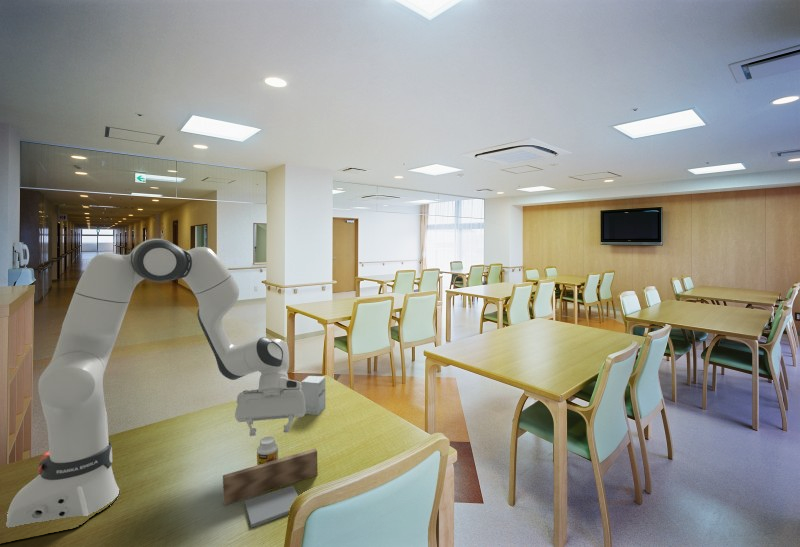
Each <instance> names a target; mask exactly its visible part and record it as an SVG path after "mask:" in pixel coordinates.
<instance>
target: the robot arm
mask: <svg viewBox="0 0 800 547" xmlns="http://www.w3.org/2000/svg"><path fill="white" fill-rule="evenodd" d="M179 279H182V280H183V281H184V282H185V283H186V284H187V286H188V287H189V288H190V290H191V291H192V293H193V294H194V296H195V298H196V300H197V302H198V310H197V314H196V315H197V320H198V322H199V325H200V327H201V330H202V332H203V334H204V336H205V338H206V340H207V342H208V344H209V347H210V349H211V350H212V353H213V355H214V356H215V362H216V364H217V368H218V370H219V373H220V374H221V375H222V376H223V377H224V378H227V379H229V380H231V381H234V380H238V379H240V378H243V377H245V376H247V375H250V374H253V373H256V372H259V373H260V376H259V379H258V389H251V390H247V389H245V390H243V391H242V392H239V393H238V395H237V397H236V409H235V412H234V418H235V419H236V421H237V422H238V423H246V424H247V426H248V428H249V436H250V437H255V436H256V435H257V429H256V428H255V427H253V425H254V422H259V421H267V420H269V421H271V420H279V419H287V420H288V422H287V424H284V425H283V433H284V434H286V433H287V434H288V433H290V427H291V426H292V424H293V423H294V418H302V417H304V416H305V415H306V414H305V413H306V409H305V400H304V395H303V392H302V386H301V381H297V380H293V379H290V378H289V374H288V373H289V372H288V371H289V368H290V351H289V350H290V349H289V345H288V343H287V342H286V341H285V340H284V339H280V338H269V337H266V336H262V337H258V338H255V339H252V340H249V341H247V342H244V343H241V344H237V345H236V344H233V343H232V342H231V340H230V338H229V336H228V334H227V331H226V330H225V327H224V324H223V319H224V316H225V315H227V313H228V312H229V311H230V310H231V309H232V308H233V307H234V306H235V305H236V303H237V302H238V300H239V295H240V289H239V286H238V284H237V281H236V280H235V278H234V276H233V274H231V271H229V268H228V267H227V266H226V264H225V263H224V262H223V261H222V259H221V258H220V257H219V256H218V255H217V253H216V252H214V251H213V249H212V248H210V247H206V246H197V247H193V248H191V249H188V250H185V249H184V248H181V247H179V246H178V245H176V244H174V243H173V242H171V241H169V240H167V239H164V238H159V237H158V238H154V237H153V238H149V239H146V240H144V241H142V242H140V243H139V244H138V245H136V246H135V247H134V248H132V249H131V250H130V251H128V252H127V253H125V254H120V253H119V254H118V253H113V252H110V253H109V252H107V253H100V254H97V255H95V256H94V257H93V258H92V259H91V260H90V261H89V263H88V264H87V266H86V267H85V269H84V271H83V273H82V275H81V276H80V278H79V280H78V283H77V285H76V287H75V290H74V292H73V295H72V298H71V301H70V304H69V306H68V309H67V312H66V314H65V317H64V320H63V322H62V325H61V326H62V327H61V330H60V334H59V336H58V341H57V343H56V347H55V349H54V354H53V356H52V358H51V360H50V362H49V364H48V365H47V367H46V368H45V369H44V370H43V372H42V373H41V375H40V377H39V379H38V385H37V387H38V388H37V390H38V395H39V398H40V403H41V409H42V413H43V416H44V420H45V423H46V429H47V437H48V438H47V439H48V448H49V449H48V451H46V452H44V453H43V454H42V457H41V458H40V461H39V463H38V468H37V474H38V475H37V476H36V477H35V478H33V479H32V480H31V481H29V482H28V483H27V484H25V486H23V487H22V488H20V490H19V491H18V492H17V493H16V494H15V496H14V497H13V499H12V500H11V503H10V504H9V506H8V511H7V513H8V514H7V522H6V526H7V527H8V528H9V527H15V526H19V525H24V524H30V523H35V522H42V521H43V522H44V521H49V520H55V519H60V518H66V517H75V516H88V515H90V514H92V513H93V512H96V511H98V510H99V509H101V508H103V507H104V506H106V505H107V504H109V503H110V502H112V501H113V500H114V499H115V498H116V497H117V496H118V494H119V490H120V488H119V486H118V484H117V481H116V479H115V476H114V472H113V467H112V464H113V447H112V443H111V441H110V439H109V426H108V411H107V407H106V403H105V401H106V400H105V394H104V385H103V384H104V382H103V381H104V374H105V372H106V368H107V365H108V362H109V360H110V357H111V354H112V352H113V350H114V349H113V348H114V346H115V344H116V340H117V338H118V335H119V332H120V329H121V326H122V323H123V322H124V318H125V315H126V312H127V310H128V307H129V304H130V301H131V298H132V295H133V292H134V290H135V289H136V286H137V285H138V284H139V283H140V282H142V281H144V280H147V281H149V282H155V283H164V282H170V281H174V280H179Z"/></svg>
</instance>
